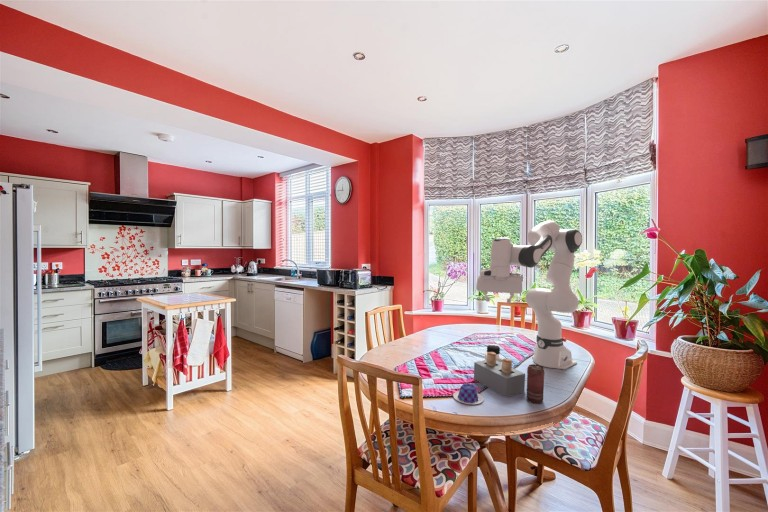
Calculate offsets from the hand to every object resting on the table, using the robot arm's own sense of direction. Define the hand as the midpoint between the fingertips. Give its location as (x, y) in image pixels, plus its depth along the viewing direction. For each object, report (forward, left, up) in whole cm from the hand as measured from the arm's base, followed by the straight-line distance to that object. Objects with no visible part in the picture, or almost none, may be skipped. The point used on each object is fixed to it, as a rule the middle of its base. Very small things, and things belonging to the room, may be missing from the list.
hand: (498, 302), depth 154 cm
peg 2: (+5, +11, -30) cm, 33 cm away
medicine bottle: (-6, -8, -36) cm, 37 cm away
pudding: (+25, +10, -36) cm, 46 cm away
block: (+5, +7, -36) cm, 37 cm away
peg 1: (+5, +2, -30) cm, 31 cm away
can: (+2, +23, -36) cm, 43 cm away
